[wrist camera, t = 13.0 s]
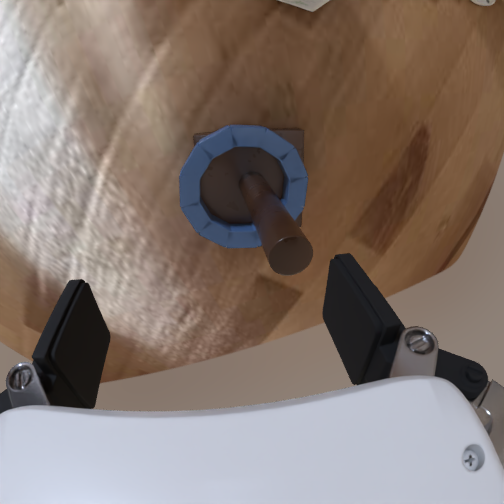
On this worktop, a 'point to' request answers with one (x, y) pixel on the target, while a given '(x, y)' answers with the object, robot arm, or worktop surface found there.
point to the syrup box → (306, 4)
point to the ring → (218, 145)
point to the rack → (258, 200)
